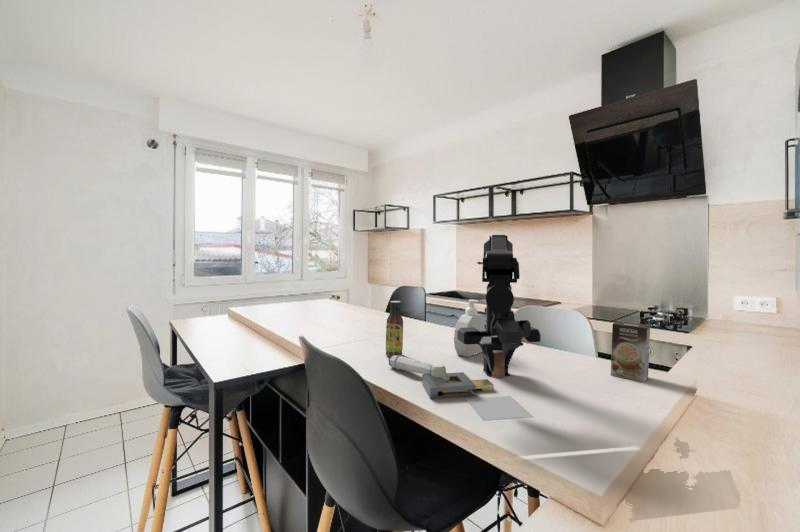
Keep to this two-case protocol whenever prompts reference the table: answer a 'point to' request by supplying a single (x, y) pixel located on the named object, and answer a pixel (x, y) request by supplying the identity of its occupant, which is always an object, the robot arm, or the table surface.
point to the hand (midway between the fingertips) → (498, 370)
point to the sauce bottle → (394, 330)
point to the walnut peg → (498, 364)
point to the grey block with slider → (453, 386)
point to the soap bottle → (464, 322)
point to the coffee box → (630, 350)
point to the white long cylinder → (418, 367)
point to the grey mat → (498, 408)
